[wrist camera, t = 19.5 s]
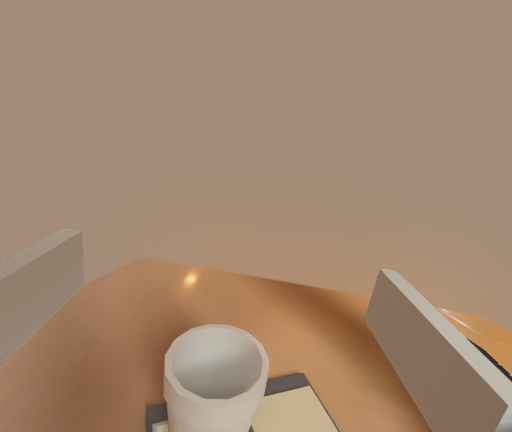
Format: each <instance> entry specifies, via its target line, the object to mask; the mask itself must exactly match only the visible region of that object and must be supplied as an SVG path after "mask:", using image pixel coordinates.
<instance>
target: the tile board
mask: <svg viewBox="0 0 512 432" xmlns="http://www.w3.org/2000/svg"><path fill="white" fill-rule="evenodd" d="M147 432H170V431H169V421H168V411H167V403H165V404H161V405H156V406H152V407H147ZM248 432H340V431H339V429H338V428H337V426H336V424H335V423H334V421H333V420H332V418H331V416H330V415H329V413H328V412H327V410H326V408H325V407H324V405H323V404H322V402H321V400H320V399H319V397H318V396H317V394H316V392H315V391H314V389H313V388H312V386H311V384H310V383H309V381H308V380H307V378H306V377H305V375H304V373H301V374H296V375H292V376H287V377H283V378H278V379H274V380H269V381H267V383H266V388H265V393H264V398H263V401H262V402H261V404H260V405H259V406H258V408H257V411H256V413H255V416H254V419H253V421H252V424H251V426H250V429H249V431H248Z"/></svg>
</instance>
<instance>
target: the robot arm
mask: <svg viewBox="0 0 512 432" xmlns="http://www.w3.org/2000/svg"><path fill="white" fill-rule="evenodd" d="M83 278H84V276H83V243H82V231H80V230H73V229H65V228H64V229H61V230H60V231H57V232H56V233H54V234H52V235H50V236H48V237H46V238H44V239H42V240H41V241H39V242H37V243H35V244H33V245H31V246H29V247H28V248H26V249H24V250H22V251H20V252H18V253H16V254H14V255H13V256H11V257H9V258H7V259H5V260H3V261H1V262H0V368H1V367H2V366H3V365H4V364H5V363H6V362H7V361H8V360H9V359H10V358H11V357H12V356H13V355H14V354H15V353H16V352H17V351H18V350H19V349H20V348H22V347H23V346H24V345H25V344H26V343H27V342H28V341H29V340H30V339H31V338H32V337H33V336H34V335H35V334H36V333H37V332H38V331H39V330H40V329H41V328H42V327H43V326H44V325H46V324H47V323H48V322H49V321H50V320H51V319H52V318H53V317H54V316H55V315H56V314H57V313H58V312H59V311H60V310H61V309H62V308H63V307H64V306H65V305H66V304H67V303H68V302H69V301H71V300H72V299H73V298H74V297H75V296H76V295H77V294H78V293H79V292H80V291H81V290H82V289H83V288H84V279H83ZM364 320H365V322H366V324H367V325H368V327H369V329H370V330H371V332H372V334H373V335H374V337H375V338H376V340H377V342H378V343H379V345H380V347H381V348H382V350H383V352H384V353H385V355H386V357H387V358H388V360H389V362H390V363H391V365H392V367H393V368H394V370H395V371H396V373H397V375H398V376H399V378H400V380H401V381H402V383H403V385H404V386H405V388H406V390H407V391H408V393H409V395H410V396H411V398H412V400H413V401H414V403H415V405H416V406H417V408H418V409H419V411H420V413H421V414H422V416H423V418H424V419H425V421H426V423H427V424H428V426H429V428H430V429H431V431H432V432H512V377H511V376H510V374H509V373H508V372H507V371H506V370H505V369H504V368H503V367H502V366H501V365H498V362H497V361H496V360H494V359H493V358H492V357H491V356H490V355H489V354H488V353H487V352H486V351H485V350H484V349H482V348H481V347H479V346H478V345H476V344H475V343H473V342H472V341H470V340H469V339H467V338H465V337H464V336H463V335H462V334H461V333H460V332H459V331H458V330H457V329H456V328H455V327H454V326H453V325H452V324H451V323H450V322H449V321H448V320H447V319H446V318H445V317H444V316H443V315H441V314H440V313H439V312H438V311H437V310H436V309H435V308H434V307H433V306H432V305H431V304H430V303H429V302H428V301H427V300H426V299H425V298H424V297H423V296H422V295H421V294H420V293H419V292H418V291H416V290H415V289H414V288H413V287H412V286H411V285H410V284H409V283H408V282H407V281H406V280H405V279H404V278H403V277H402V276H401V275H400V274H399V273H398V272H397V271H393V270H385V269H380V271H379V274H378V277H377V281H376V284H375V287H374V291H373V293H372V297H371V300H370V303H369V306H368V310H367V313H366V316H365V319H364Z"/></svg>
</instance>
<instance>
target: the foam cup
mask: <svg viewBox="0 0 512 432" xmlns="http://www.w3.org/2000/svg"><path fill="white" fill-rule="evenodd" d="M268 369H269V359H268V357H267V355H266V352H265V350H264V348H263V345H262V344H261V343H260V342H259V341H257V340H256V339H255V338H254V337H253V336H252V335H251V334H250V333H248V332H246V331H244V330H241V329H238V328H236V327H233V326H231V325H220V324H207V325H203V326H199V327H195V328H191V329H189V330H188V331H186V332H185V333H183V334H182V335H180V336H179V337H177V338H176V339H175V340H174V341H173V343H172V344H171V346H170V348H169V349H168V351H167V353H166V354H165V361H164V375H163V386H164V398H165V400H166V401H167V411H168V421H169V431H170V432H248V431H249V429H250V426H251V424H252V421H253V419H254V416H255V413H256V411H257V408H258V406H259V405H260V404H261V402H262V401H263V398H264V393H265V388H266V383H267V377H268Z"/></svg>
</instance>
